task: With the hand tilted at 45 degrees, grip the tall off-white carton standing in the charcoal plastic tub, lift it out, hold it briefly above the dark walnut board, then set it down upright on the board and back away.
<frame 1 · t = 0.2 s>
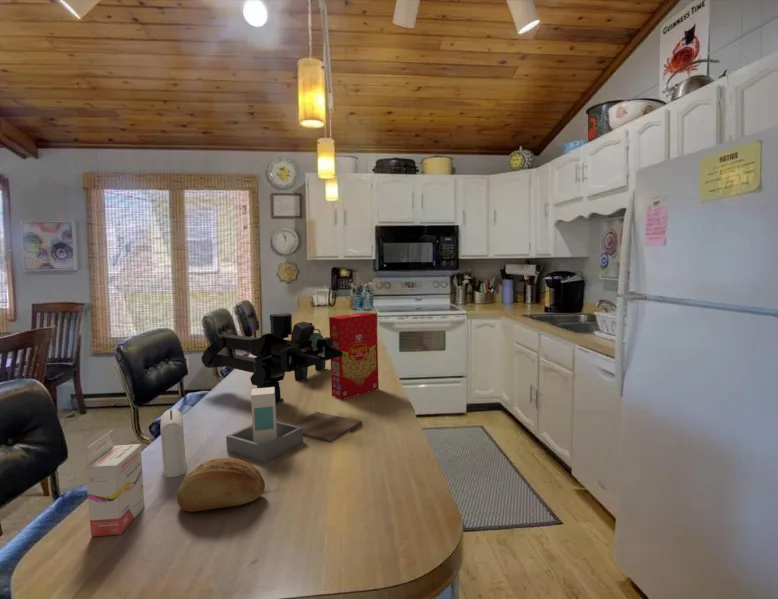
hand: (331, 357, 120), 17 cm above the kitchen island counter, tool horizontal, fingers open, 9 cm apart
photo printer: (175, 469, 94), on the kitchen island counter
carton: (265, 445, 103), point 1 cm above the kitchen island counter, touching tub
board: (322, 429, 113), on the kitchen island counter
food packaging: (355, 393, 143), on the kitchen island counter
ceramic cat: (309, 375, 166), on the kitchen island counter
bread roll: (222, 505, 80), on the kitchen island counter
ink cartridge box: (120, 521, 76), on the kitchen island counter
tub: (266, 448, 103), on the kitchen island counter
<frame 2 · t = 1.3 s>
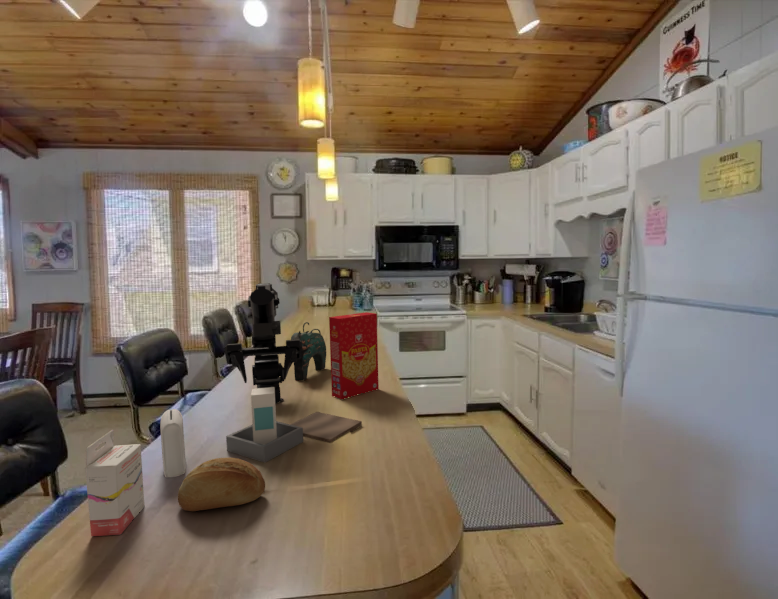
hand: (265, 380, 109), 14 cm above the kitchen island counter, tool tilted 45°, fingers open, 9 cm apart
nothing on the kitchen island counter moved.
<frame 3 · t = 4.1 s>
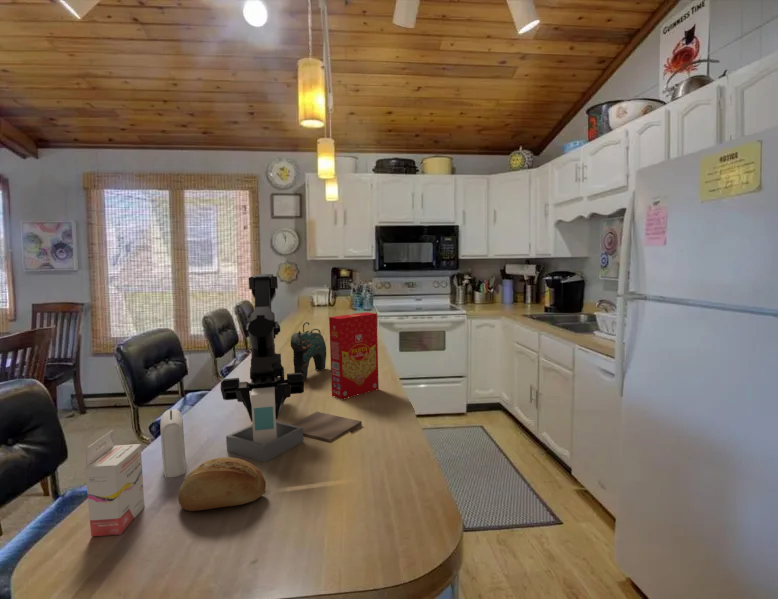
hand: (264, 419, 101), 7 cm above the kitchen island counter, tool tilted 45°, fingers closed on carton, 5 cm apart
carton: (265, 445, 103), point 1 cm above the kitchen island counter, touching gripper, tub
everything else where it was.
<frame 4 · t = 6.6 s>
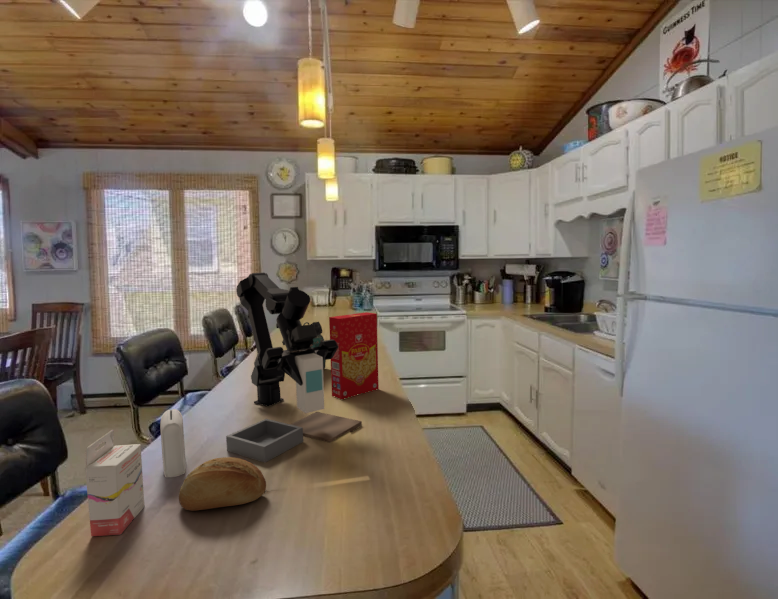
hand: (312, 382, 108), 13 cm above the kitchen island counter, tool tilted 45°, fingers closed on carton, 5 cm apart
carton: (310, 408, 110), point 7 cm above the kitchen island counter, touching gripper
everything else where it was.
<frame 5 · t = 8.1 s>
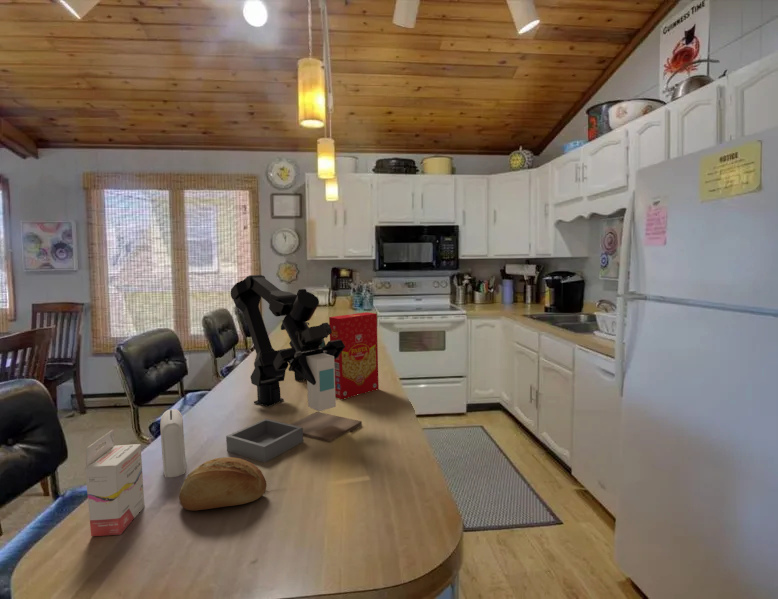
hand: (324, 381, 111), 13 cm above the kitchen island counter, tool tilted 45°, fingers closed on carton, 5 cm apart
carton: (321, 406, 113), point 6 cm above the kitchen island counter, touching gripper
everything else where it was.
when the fingers open (9 cm above the kitchen island counter, at t = 9.2 s): carton drops 1 cm, resting on board.
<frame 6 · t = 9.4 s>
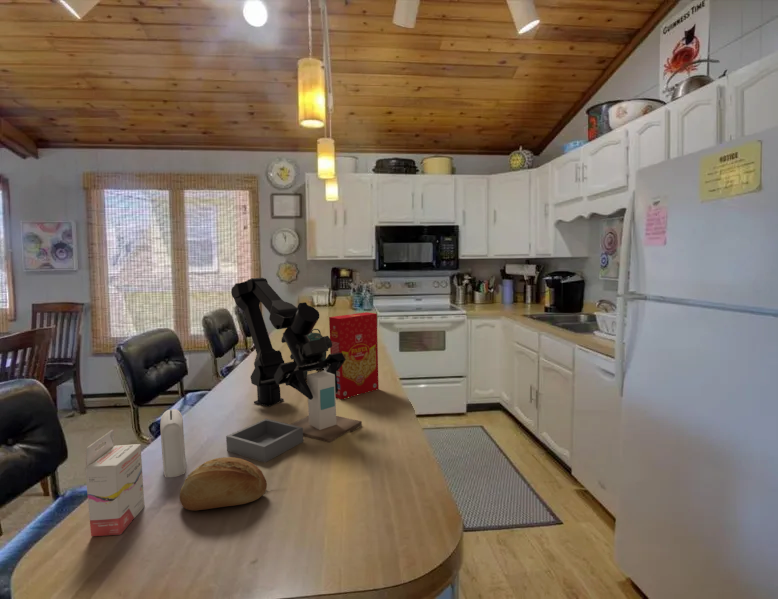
hand: (324, 395, 111), 9 cm above the kitchen island counter, tool tilted 45°, fingers open, 7 cm apart
carton: (322, 424, 113), point 1 cm above the kitchen island counter, touching board
everything else where it was.
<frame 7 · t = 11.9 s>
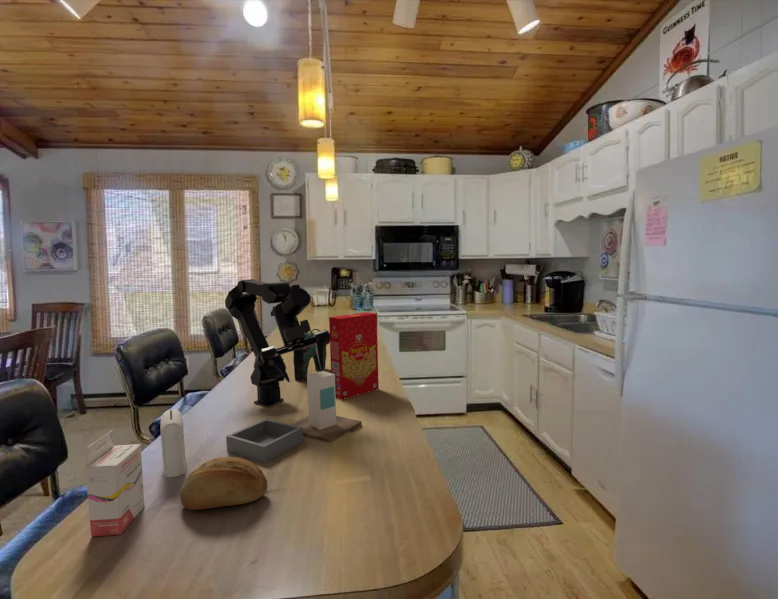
hand: (306, 376, 118), 12 cm above the kitchen island counter, tool tilted 30°, fingers open, 9 cm apart
nothing on the kitchen island counter moved.
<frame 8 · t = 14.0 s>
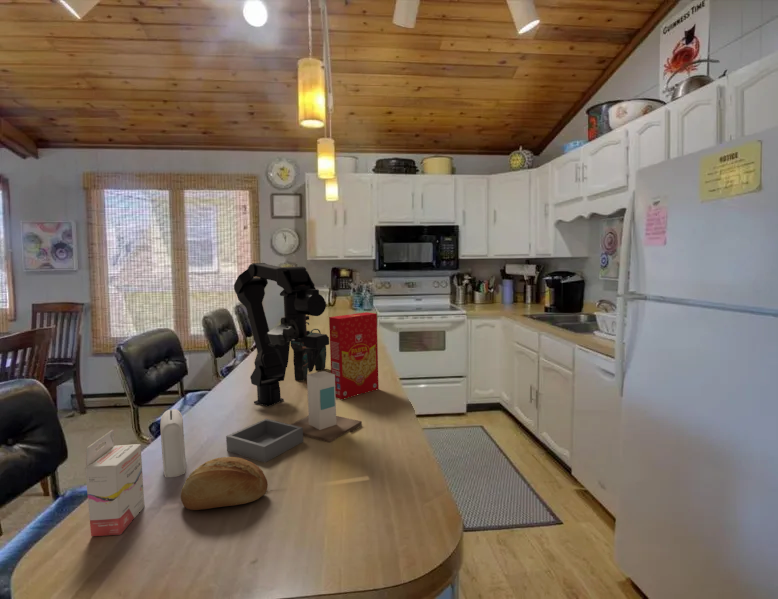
hand: (297, 369, 122), 13 cm above the kitchen island counter, tool pointing down, fingers open, 9 cm apart
nothing on the kitchen island counter moved.
at the end: carton inside the target area on the board (0.0 cm from its centre), point 1.2 cm above the board's base; carton tilted 0°; the gripper is holding nothing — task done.
